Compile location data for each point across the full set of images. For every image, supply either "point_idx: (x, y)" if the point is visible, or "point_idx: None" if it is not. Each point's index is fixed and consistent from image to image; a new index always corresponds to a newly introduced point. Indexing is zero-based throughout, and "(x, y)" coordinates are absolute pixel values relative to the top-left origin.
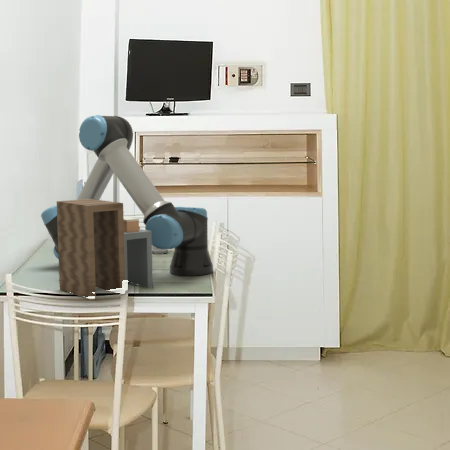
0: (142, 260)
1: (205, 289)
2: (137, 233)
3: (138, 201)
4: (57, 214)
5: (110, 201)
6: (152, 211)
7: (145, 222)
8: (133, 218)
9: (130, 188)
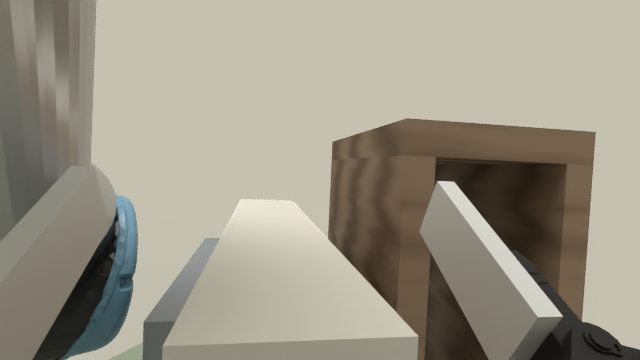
0: None
1: (136, 351)
2: None
3: (88, 135)
4: (586, 199)
5: (350, 136)
6: (110, 184)
7: (100, 250)
8: (251, 201)
9: (92, 36)
